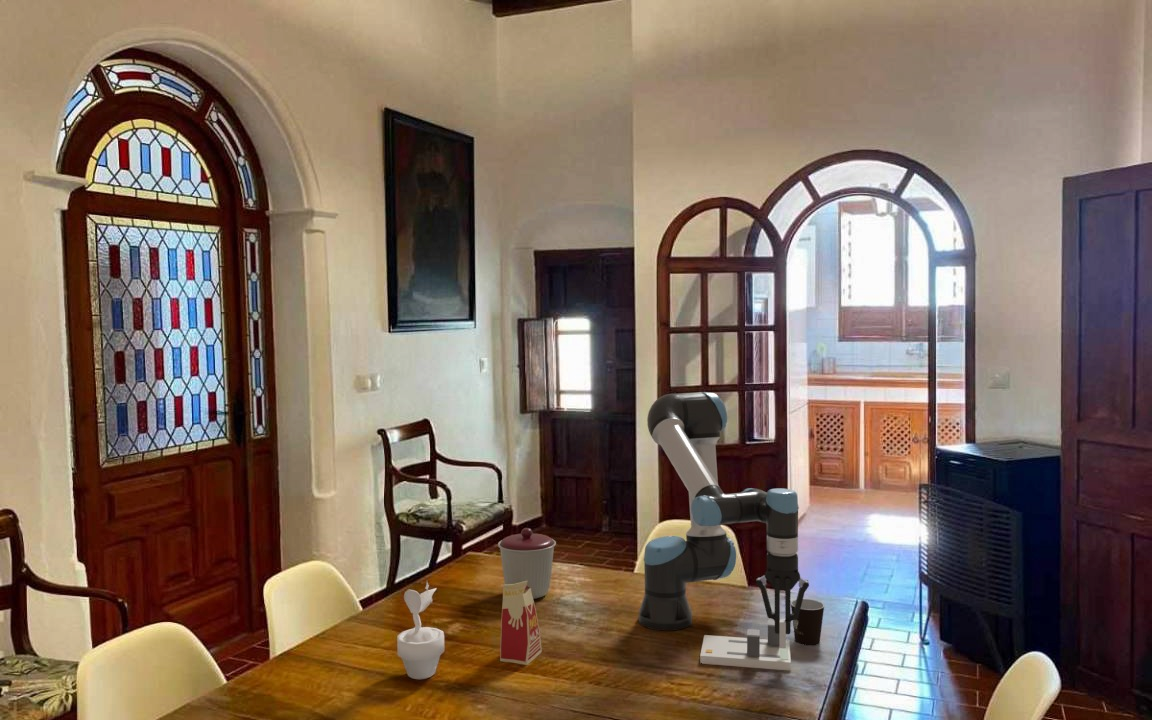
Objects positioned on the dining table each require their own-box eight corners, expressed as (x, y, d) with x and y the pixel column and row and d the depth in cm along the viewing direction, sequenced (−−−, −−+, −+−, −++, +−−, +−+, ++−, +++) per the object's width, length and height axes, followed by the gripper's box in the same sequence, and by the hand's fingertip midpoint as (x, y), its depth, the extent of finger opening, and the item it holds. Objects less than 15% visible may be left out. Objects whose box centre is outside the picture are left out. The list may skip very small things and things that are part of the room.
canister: (555, 604, 259) (554, 535, 258) (495, 604, 259) (494, 536, 258) (557, 585, 277) (556, 521, 276) (501, 585, 278) (500, 521, 276)
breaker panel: (700, 663, 214) (700, 654, 214) (704, 642, 228) (704, 634, 228) (790, 670, 210) (790, 661, 209) (789, 648, 223) (789, 640, 223)
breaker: (767, 645, 219) (767, 624, 219) (767, 639, 223) (767, 619, 223) (779, 646, 219) (779, 625, 218) (779, 640, 223) (779, 619, 222)
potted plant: (423, 688, 201) (421, 584, 200) (387, 678, 208) (384, 576, 206) (458, 669, 212) (456, 570, 211) (422, 660, 218) (420, 563, 217)
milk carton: (541, 651, 223) (540, 576, 222) (528, 665, 214) (527, 587, 213) (509, 647, 226) (508, 573, 225) (495, 661, 217) (493, 583, 216)
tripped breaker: (747, 656, 213) (747, 634, 212) (747, 649, 217) (747, 628, 216) (759, 656, 212) (759, 635, 212) (759, 650, 216) (759, 629, 216)
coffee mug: (825, 648, 223) (825, 610, 223) (791, 646, 225) (791, 608, 224) (821, 632, 234) (821, 596, 234) (789, 630, 236) (789, 594, 236)
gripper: (755, 555, 209) (755, 650, 210) (810, 557, 206) (810, 653, 207) (755, 547, 217) (756, 638, 218) (809, 549, 214) (809, 642, 215)
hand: (782, 646), depth 213 cm, fingers closed
